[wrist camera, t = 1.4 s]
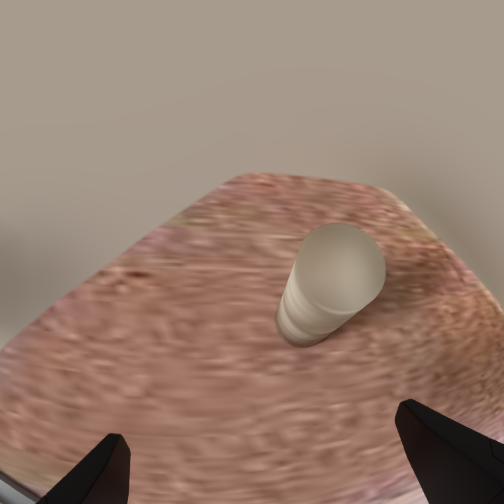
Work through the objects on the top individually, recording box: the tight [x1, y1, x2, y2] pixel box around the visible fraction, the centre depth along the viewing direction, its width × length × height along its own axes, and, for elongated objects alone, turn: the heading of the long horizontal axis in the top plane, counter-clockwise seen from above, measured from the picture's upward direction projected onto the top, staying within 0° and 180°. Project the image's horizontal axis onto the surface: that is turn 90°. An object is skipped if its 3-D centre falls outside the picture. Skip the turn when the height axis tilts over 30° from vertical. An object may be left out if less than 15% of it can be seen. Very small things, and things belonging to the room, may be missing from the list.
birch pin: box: [275, 223, 386, 348], centre depth 19 cm, size 4×4×11 cm
